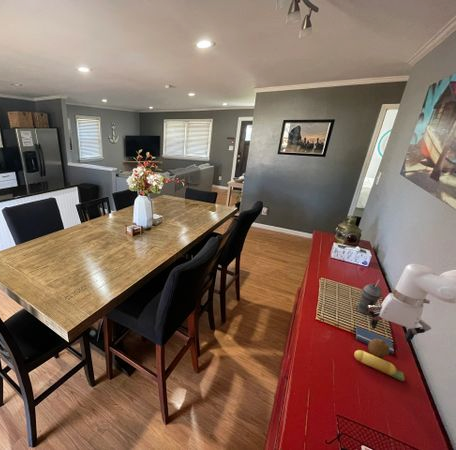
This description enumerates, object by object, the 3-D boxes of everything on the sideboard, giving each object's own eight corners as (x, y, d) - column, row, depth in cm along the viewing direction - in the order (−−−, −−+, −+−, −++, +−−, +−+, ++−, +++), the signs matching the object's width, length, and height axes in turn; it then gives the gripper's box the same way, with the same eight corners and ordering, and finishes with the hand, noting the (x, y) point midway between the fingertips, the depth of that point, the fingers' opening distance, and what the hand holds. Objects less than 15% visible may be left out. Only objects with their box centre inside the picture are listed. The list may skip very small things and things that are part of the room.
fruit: (363, 346, 102) (371, 332, 98) (382, 353, 99) (390, 338, 95) (366, 357, 97) (374, 343, 93) (386, 364, 94) (395, 350, 91)
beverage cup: (371, 309, 122) (387, 277, 115) (373, 318, 117) (391, 284, 109) (353, 303, 126) (368, 272, 118) (355, 312, 120) (370, 279, 112)
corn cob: (401, 375, 90) (406, 367, 88) (402, 384, 87) (408, 376, 85) (352, 353, 98) (356, 345, 96) (352, 360, 95) (356, 352, 93)
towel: (390, 342, 104) (392, 339, 103) (392, 354, 98) (394, 352, 97) (356, 328, 110) (357, 325, 110) (356, 339, 105) (357, 336, 104)
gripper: (439, 301, 84) (418, 338, 90) (375, 282, 93) (360, 317, 100) (446, 313, 78) (423, 351, 85) (376, 292, 88) (361, 327, 94)
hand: (389, 332), depth 92 cm, fingers open, 9 cm apart
